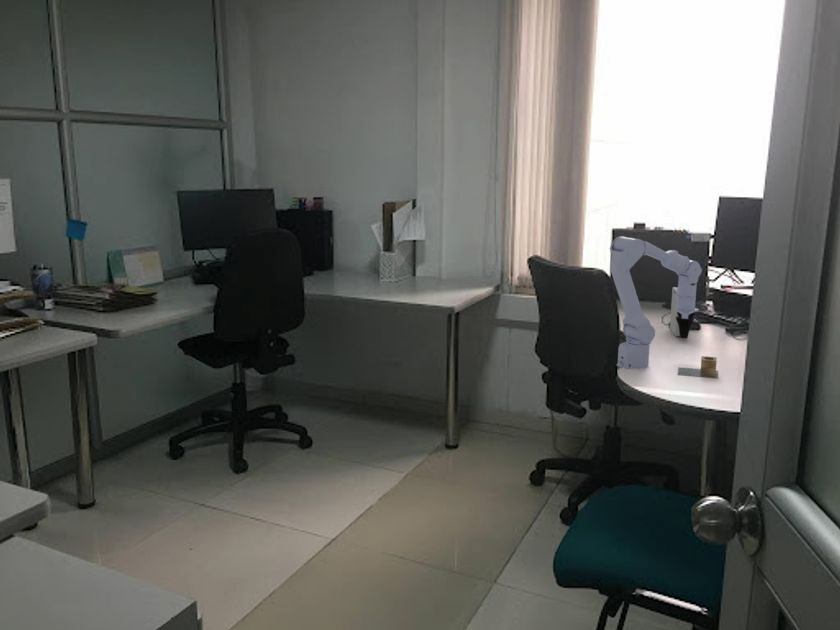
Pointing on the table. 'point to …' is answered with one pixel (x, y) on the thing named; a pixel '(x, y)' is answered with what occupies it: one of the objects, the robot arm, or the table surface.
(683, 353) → the table surface
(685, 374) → the pin plate
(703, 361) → the hollow block
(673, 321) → the fuel canister
